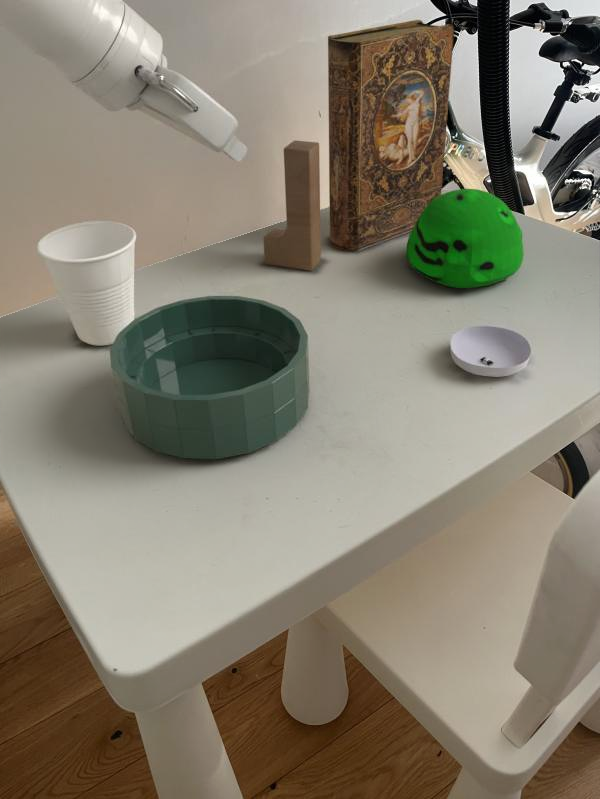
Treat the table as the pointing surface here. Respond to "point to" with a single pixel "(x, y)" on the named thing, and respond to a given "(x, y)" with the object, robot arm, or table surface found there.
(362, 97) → the book
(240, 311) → the bowl
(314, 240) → the wooden block
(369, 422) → the table surface
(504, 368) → the white shallow round dish
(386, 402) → the table surface
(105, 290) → the cup
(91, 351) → the table surface
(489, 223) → the toy
